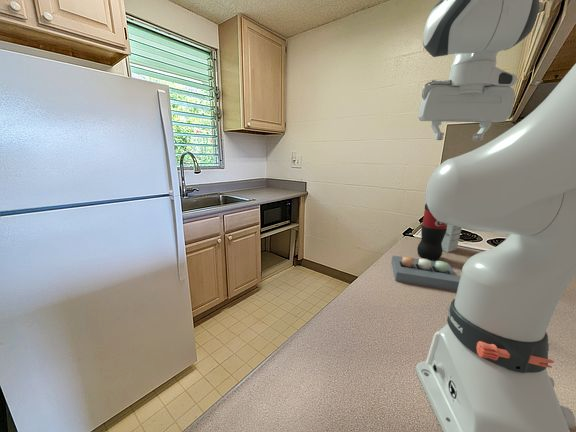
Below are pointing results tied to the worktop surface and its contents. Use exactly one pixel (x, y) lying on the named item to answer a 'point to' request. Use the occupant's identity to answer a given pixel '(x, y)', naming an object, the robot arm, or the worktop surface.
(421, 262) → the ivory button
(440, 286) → the panel
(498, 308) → the robot arm
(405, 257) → the terracotta button
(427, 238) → the cola bottle
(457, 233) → the supplement box
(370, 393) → the worktop surface
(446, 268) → the sage button
